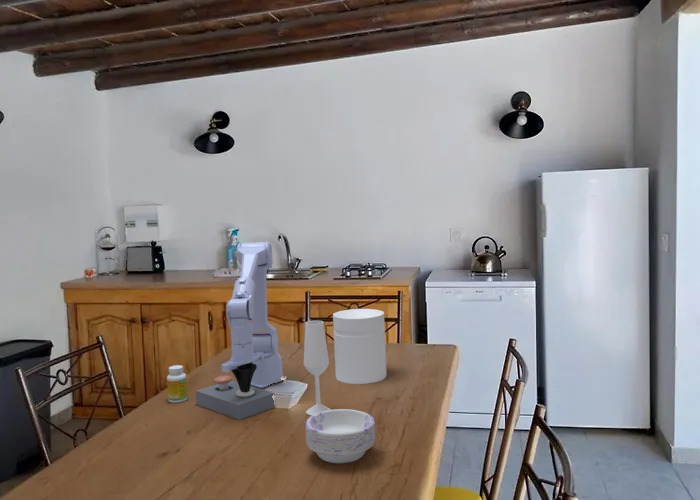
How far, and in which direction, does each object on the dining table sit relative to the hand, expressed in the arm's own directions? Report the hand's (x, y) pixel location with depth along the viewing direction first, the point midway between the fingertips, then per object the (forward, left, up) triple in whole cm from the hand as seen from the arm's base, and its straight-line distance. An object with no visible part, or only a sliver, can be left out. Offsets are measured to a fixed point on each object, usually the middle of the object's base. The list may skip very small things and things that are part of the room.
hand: (245, 391), depth 167 cm
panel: (0, -5, -5) cm, 7 cm away
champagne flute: (-11, +17, -5) cm, 21 cm away
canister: (-41, +5, -5) cm, 42 cm away
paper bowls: (+5, +41, -5) cm, 42 cm away
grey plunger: (0, 0, -4) cm, 4 cm away
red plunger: (0, -10, -2) cm, 10 cm away
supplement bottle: (+7, -23, -5) cm, 25 cm away
